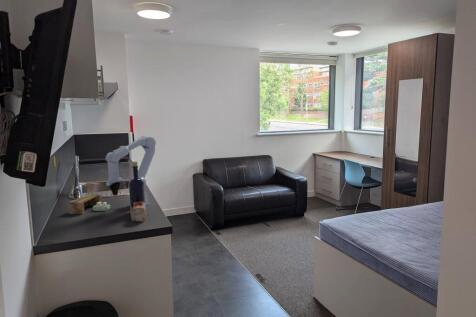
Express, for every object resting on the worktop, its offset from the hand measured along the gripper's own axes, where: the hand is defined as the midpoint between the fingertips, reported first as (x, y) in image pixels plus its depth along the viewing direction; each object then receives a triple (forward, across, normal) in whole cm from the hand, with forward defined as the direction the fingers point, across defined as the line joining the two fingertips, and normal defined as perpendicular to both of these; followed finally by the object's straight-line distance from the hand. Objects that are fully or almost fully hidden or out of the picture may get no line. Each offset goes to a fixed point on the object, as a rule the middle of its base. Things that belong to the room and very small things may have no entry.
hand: (115, 195), depth 204 cm
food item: (+10, +14, +22) cm, 28 cm away
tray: (+9, 0, -10) cm, 13 cm away
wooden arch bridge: (+9, 0, -20) cm, 22 cm away
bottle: (+10, +2, +15) cm, 18 cm away
